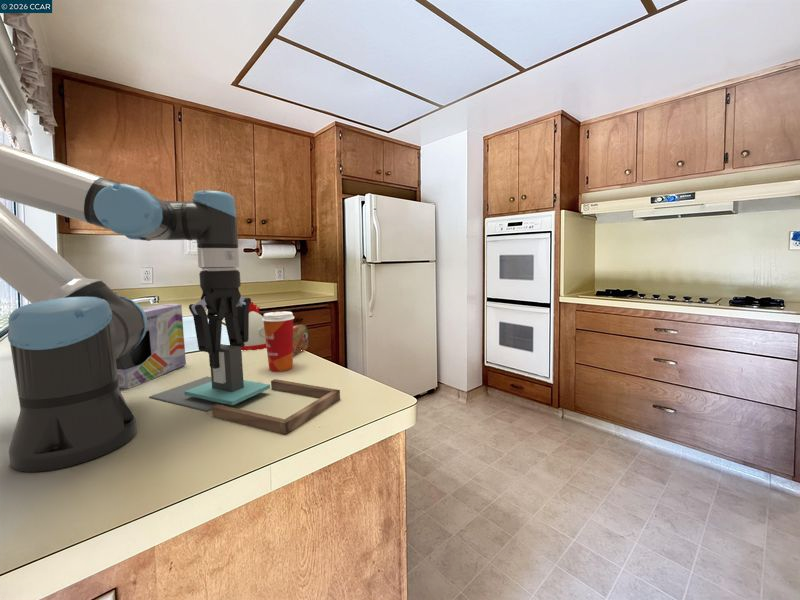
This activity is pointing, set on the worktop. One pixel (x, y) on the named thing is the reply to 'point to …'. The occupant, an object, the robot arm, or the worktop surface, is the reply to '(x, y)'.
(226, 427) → the worktop surface
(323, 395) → the walnut frame
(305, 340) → the tin
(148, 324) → the cake pan box
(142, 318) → the robot arm
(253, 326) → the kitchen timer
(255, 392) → the cover plate
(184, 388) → the grey mat
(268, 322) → the coffee cup
